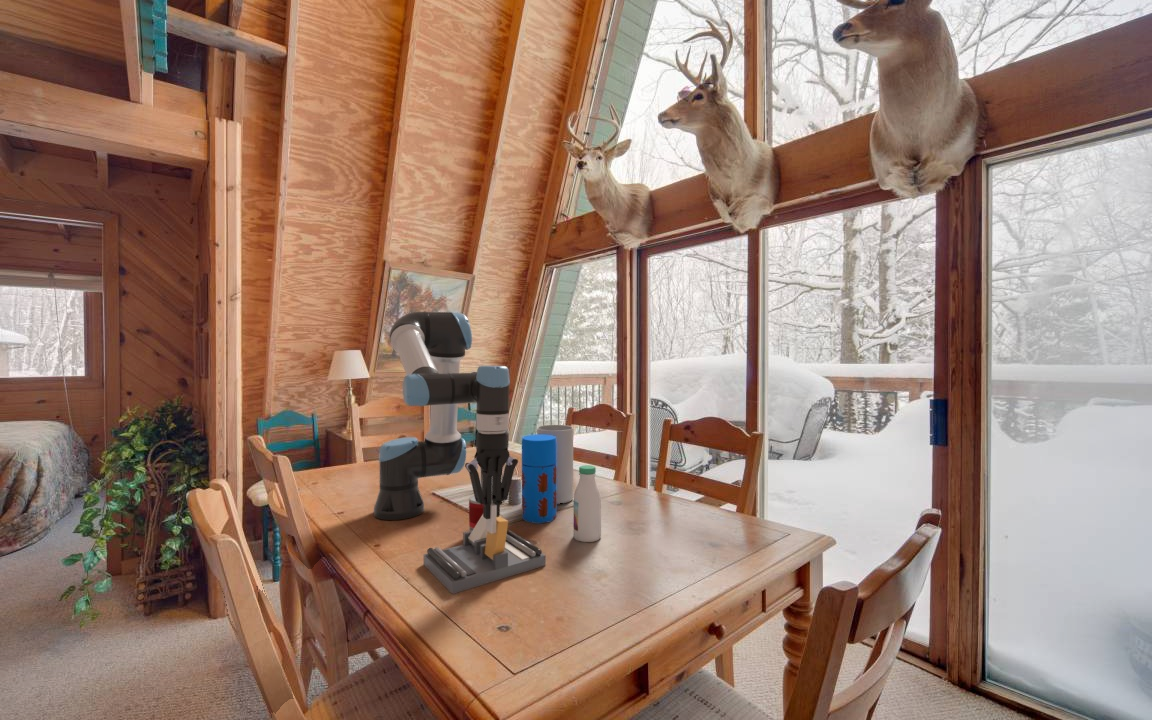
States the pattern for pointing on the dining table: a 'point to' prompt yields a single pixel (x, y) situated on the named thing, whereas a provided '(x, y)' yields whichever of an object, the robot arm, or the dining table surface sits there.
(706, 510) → the dining table surface
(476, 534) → the block
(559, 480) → the cylinder vase
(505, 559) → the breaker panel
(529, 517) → the thermos
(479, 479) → the robot arm
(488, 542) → the block
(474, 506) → the canned food
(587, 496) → the milk bottle
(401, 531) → the dining table surface
